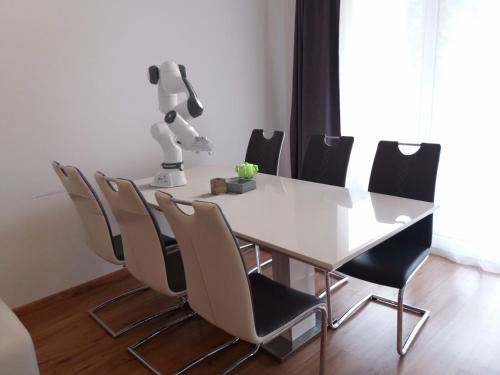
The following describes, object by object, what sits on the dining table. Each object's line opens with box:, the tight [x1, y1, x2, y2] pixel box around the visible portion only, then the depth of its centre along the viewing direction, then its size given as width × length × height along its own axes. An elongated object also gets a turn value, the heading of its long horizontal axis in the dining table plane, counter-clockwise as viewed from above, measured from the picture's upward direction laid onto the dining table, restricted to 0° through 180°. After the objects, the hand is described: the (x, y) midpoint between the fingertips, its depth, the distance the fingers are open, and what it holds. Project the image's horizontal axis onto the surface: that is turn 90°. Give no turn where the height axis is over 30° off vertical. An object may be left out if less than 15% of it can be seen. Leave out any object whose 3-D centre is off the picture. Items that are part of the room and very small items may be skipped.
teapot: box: [234, 162, 259, 180], centre depth 260 cm, size 12×12×10 cm
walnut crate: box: [209, 177, 227, 196], centre depth 225 cm, size 6×6×8 cm
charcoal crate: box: [226, 177, 257, 194], centre depth 230 cm, size 12×12×5 cm
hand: (204, 153), depth 213 cm, fingers open, 8 cm apart
